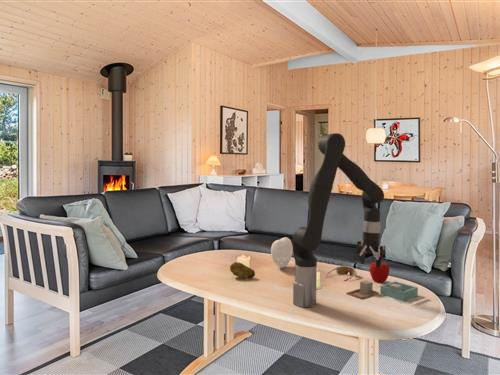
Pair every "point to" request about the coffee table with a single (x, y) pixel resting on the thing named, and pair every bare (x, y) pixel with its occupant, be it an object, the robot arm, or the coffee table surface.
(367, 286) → the block
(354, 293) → the tray
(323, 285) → the coffee table surface
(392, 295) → the teal open box
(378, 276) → the apple
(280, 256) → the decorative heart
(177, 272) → the coffee table surface
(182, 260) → the coffee table surface
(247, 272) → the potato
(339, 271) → the sunglasses
